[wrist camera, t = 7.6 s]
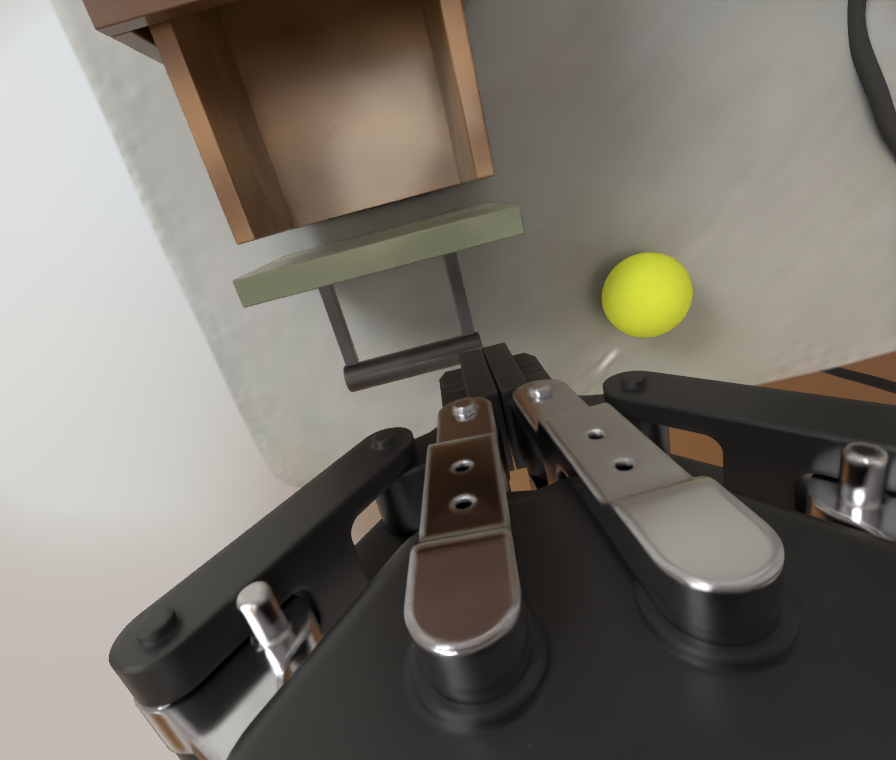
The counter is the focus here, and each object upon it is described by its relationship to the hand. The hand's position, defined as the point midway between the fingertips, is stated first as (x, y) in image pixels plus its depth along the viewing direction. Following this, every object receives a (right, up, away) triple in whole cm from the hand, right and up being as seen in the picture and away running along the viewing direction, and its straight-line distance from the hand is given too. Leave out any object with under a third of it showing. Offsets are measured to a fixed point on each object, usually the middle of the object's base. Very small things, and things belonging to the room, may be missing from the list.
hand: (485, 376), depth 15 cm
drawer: (-6, +12, +11) cm, 17 cm away
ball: (+11, +5, +13) cm, 18 cm away
